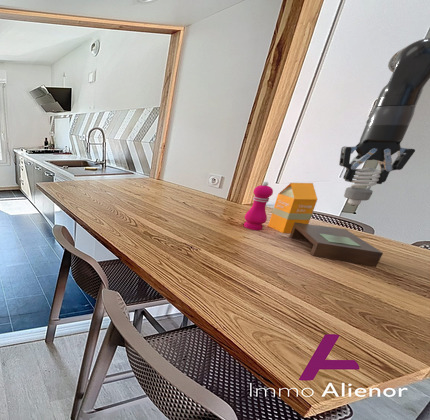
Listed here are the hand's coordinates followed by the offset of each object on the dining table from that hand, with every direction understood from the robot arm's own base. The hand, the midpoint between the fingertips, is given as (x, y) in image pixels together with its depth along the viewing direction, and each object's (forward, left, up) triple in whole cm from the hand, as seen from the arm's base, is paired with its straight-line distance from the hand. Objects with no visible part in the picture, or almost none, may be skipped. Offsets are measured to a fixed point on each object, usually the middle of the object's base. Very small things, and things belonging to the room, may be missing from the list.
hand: (362, 182), depth 74 cm
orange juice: (+7, -20, -25) cm, 33 cm away
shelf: (+1, -2, -25) cm, 25 cm away
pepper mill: (+19, -16, -25) cm, 35 cm away
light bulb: (0, 0, -8) cm, 8 cm away
